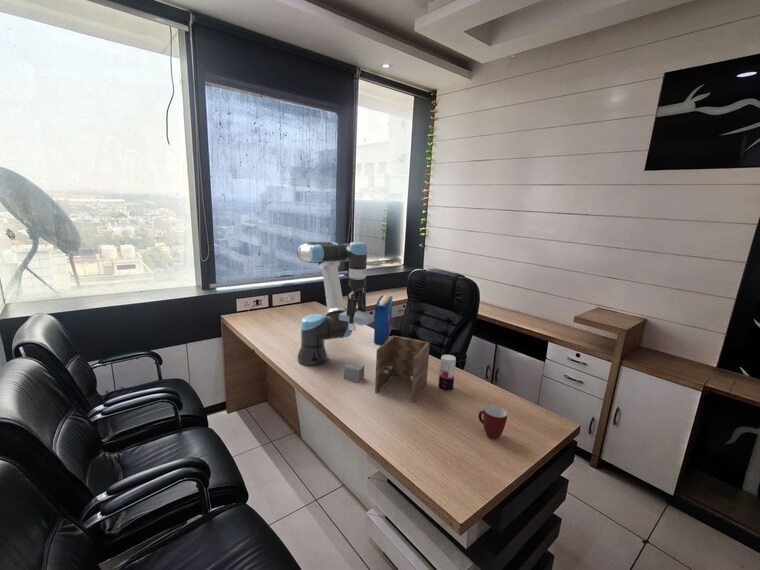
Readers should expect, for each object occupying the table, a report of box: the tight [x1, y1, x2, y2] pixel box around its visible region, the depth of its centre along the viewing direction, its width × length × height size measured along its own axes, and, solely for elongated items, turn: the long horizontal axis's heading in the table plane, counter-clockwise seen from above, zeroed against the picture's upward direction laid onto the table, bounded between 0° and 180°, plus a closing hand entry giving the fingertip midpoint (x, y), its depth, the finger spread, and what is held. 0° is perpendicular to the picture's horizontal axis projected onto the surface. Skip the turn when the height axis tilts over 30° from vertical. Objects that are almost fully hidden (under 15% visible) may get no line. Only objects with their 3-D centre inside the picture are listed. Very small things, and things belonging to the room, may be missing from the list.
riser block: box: [343, 362, 365, 383], centre depth 166 cm, size 8×5×6 cm, turn 67°
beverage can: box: [438, 354, 457, 392], centre depth 160 cm, size 6×7×15 cm
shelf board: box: [339, 311, 375, 326], centre depth 160 cm, size 14×7×2 cm, turn 67°
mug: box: [477, 404, 508, 440], centre depth 129 cm, size 11×8×10 cm
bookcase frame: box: [374, 335, 431, 404], centre depth 158 cm, size 18×19×20 cm
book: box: [373, 294, 393, 345], centre depth 215 cm, size 22×7×25 cm, turn 168°
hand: (356, 327), depth 161 cm, fingers closed on shelf board, 7 cm apart
